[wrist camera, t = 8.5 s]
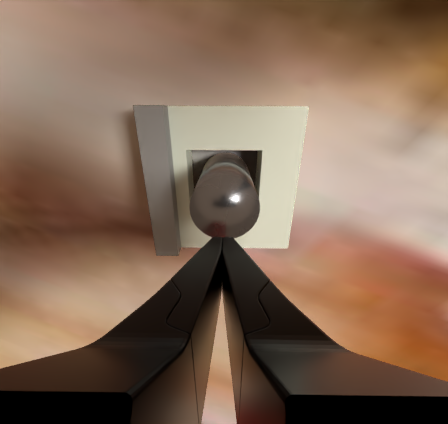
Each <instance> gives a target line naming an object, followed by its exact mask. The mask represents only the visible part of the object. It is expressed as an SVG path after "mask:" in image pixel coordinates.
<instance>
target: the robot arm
mask: <svg viewBox="0 0 448 424" xmlns="http://www.w3.org/2000/svg"><path fill="white" fill-rule="evenodd" d="M221 292H222V293H223V303H224V312H225V321H226V330H227V339H228V348H229V357H230V366H231V375H232V383H233V392H234V401H235V410H236V419H237V424H448V382H447V381H443V380H440V379H436V378H433V377H430V376H427V375H424V374H420V373H417V372H414V371H411V370H408V369H404V368H401V367H398V366H395V365H391V364H388V363H385V362H382V361H379V360H375V359H372V358H369V357H366V356H363V355H359V354H356V353H354V352H351V351H349V350H347V349H345V348H344V347H342V346H340V345H339V344H337V343H336V342H335V341H333V340H332V339H331V338H330V337H329V336H328V335H326V334H325V333H324V332H323V331H322V330H321V329H320V328H319V327H318V326H317V325H315V324H314V323H313V322H312V321H311V320H310V319H309V318H308V317H307V316H305V315H304V314H303V313H302V312H301V311H300V310H299V309H298V308H297V307H296V306H295V305H294V304H292V303H291V302H290V301H289V300H288V299H287V298H286V297H285V296H284V295H283V294H282V293H281V291H280V290H279V289H278V288H277V287H276V286H275V285H274V284H273V283H272V281H270V279H269V278H268V277H267V276H266V275H265V274H264V272H263V271H262V270H261V269H260V268H259V267H258V265H257V264H256V263H255V262H254V261H253V260H252V259H251V257H250V256H249V255H248V254H247V253H246V252H245V251H244V249H243V248H242V247H241V246H240V245H239V244H238V243H237V241H236V240H235V239H234V238H233V237H223V238H222V237H212V238H211V239H210V240H209V241H208V242H207V243H206V244H205V245H204V246H203V247H202V248H201V249H200V250H199V251H198V252H197V253H196V254H195V255H194V256H193V257H192V258H191V259H190V260H189V261H188V262H187V263H186V264H185V265H184V266H183V267H182V268H181V269H180V270H179V271H178V272H177V273H176V274H175V275H174V276H173V277H172V278H171V280H169V281H168V282H167V283H166V284H165V285H164V286H163V287H162V288H161V289H160V290H159V291H158V292H157V293H156V294H154V295H153V296H152V297H151V298H150V299H149V300H147V301H146V302H145V303H144V304H143V305H142V306H140V307H139V308H138V309H137V310H135V311H134V312H133V313H132V314H130V315H129V316H128V317H127V318H125V319H124V320H123V321H122V322H120V323H119V324H118V325H117V326H116V327H114V328H113V329H112V330H111V331H109V332H108V333H107V334H105V335H104V336H103V337H101V338H100V339H98V340H97V341H95V342H93V343H91V344H89V345H87V346H85V347H82V348H79V349H76V350H72V351H68V352H64V353H60V354H56V355H52V356H48V357H44V358H40V359H37V360H33V361H29V362H25V363H21V364H17V365H13V366H9V367H5V368H1V369H0V424H201V420H202V414H203V408H204V401H205V395H206V388H207V382H208V376H209V369H210V363H211V357H212V350H213V344H214V337H215V331H216V325H217V318H218V312H219V306H220V299H221Z"/></svg>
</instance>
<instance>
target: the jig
mask: <svg viewBox="0 0 448 424" xmlns="http://www.w3.org/2000/svg"><path fill="white" fill-rule="evenodd" d="M133 109H134V116H135V122H136V129H137V135H138V141H139V148H140V154H141V161H142V167H143V173H144V180H145V186H146V193H147V199H148V205H149V212H150V218H151V225H152V231H153V237H154V244H155V250H156V255H157V256H178V255H179V252H180V249H181V247H196V248H202V247H203V246H204V245H205V244H206V243H207V242H208V241H209V240H210V239H211V238H212V237H210V236H208V235H206V234H204V233H203V232H202V231H200V230H199V229H198V228H197V227H196V225H195V224H194V222H193V220H192V218H191V215H190V210H189V205H190V199H191V196H192V194H193V191H194V183H193V166H192V150H258V152H257V168H256V183H255V190H256V192H257V195H258V198H259V202H260V213H259V217H258V219H257V222H256V223H255V225H254V226H253V227H252V228H251V229H250V230H249V231H248V232H247V233H245V234H244V235H242V236H240V237H237V238H234V239H235V240H236V241H237V243H238V244H239V245H240V246H241V247H242V248H288V244H289V237H290V231H291V224H292V217H293V211H294V204H295V197H296V191H297V184H298V177H299V171H300V164H301V157H302V151H303V144H304V137H305V131H306V124H307V117H308V111H309V106H164V105H133Z"/></svg>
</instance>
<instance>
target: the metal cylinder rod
mask: <svg viewBox="0 0 448 424" xmlns="http://www.w3.org/2000/svg"><path fill="white" fill-rule="evenodd" d="M189 210H190V215H191V218H192V220H193V222H194V224H195V225H196V227H197V228H198V229H199V230H200V231H202V232H203V233H204V234H206V235H208V236H210V237H222V238H223V237H233V238H237V237H240V236H242V235H244V234H245V233H247V232H248V231H249V230H250V229H251V228H252V227H253V226H254V225H255V223H256V222H257V219H258V217H259V213H260V202H259V198H258V195H257V192H256V190H255V187H254V184H253V181H252V179H251V176H250V173H249V170H248V168H247V165H246V163H245V162H244V161H243V160H242V159H241V158H240V157H239V156H237V155H235V154H233V153H228V152H223V153H218V154H216V155H214V156H212V157H211V158H210V159H209V160H208V161H207V162H206V164H205V166H204V168H203V170H202V172H201V175H200V177H199V180H198V182H197V184H196V187H195V189H194V191H193V194H192V196H191V199H190V205H189Z"/></svg>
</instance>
